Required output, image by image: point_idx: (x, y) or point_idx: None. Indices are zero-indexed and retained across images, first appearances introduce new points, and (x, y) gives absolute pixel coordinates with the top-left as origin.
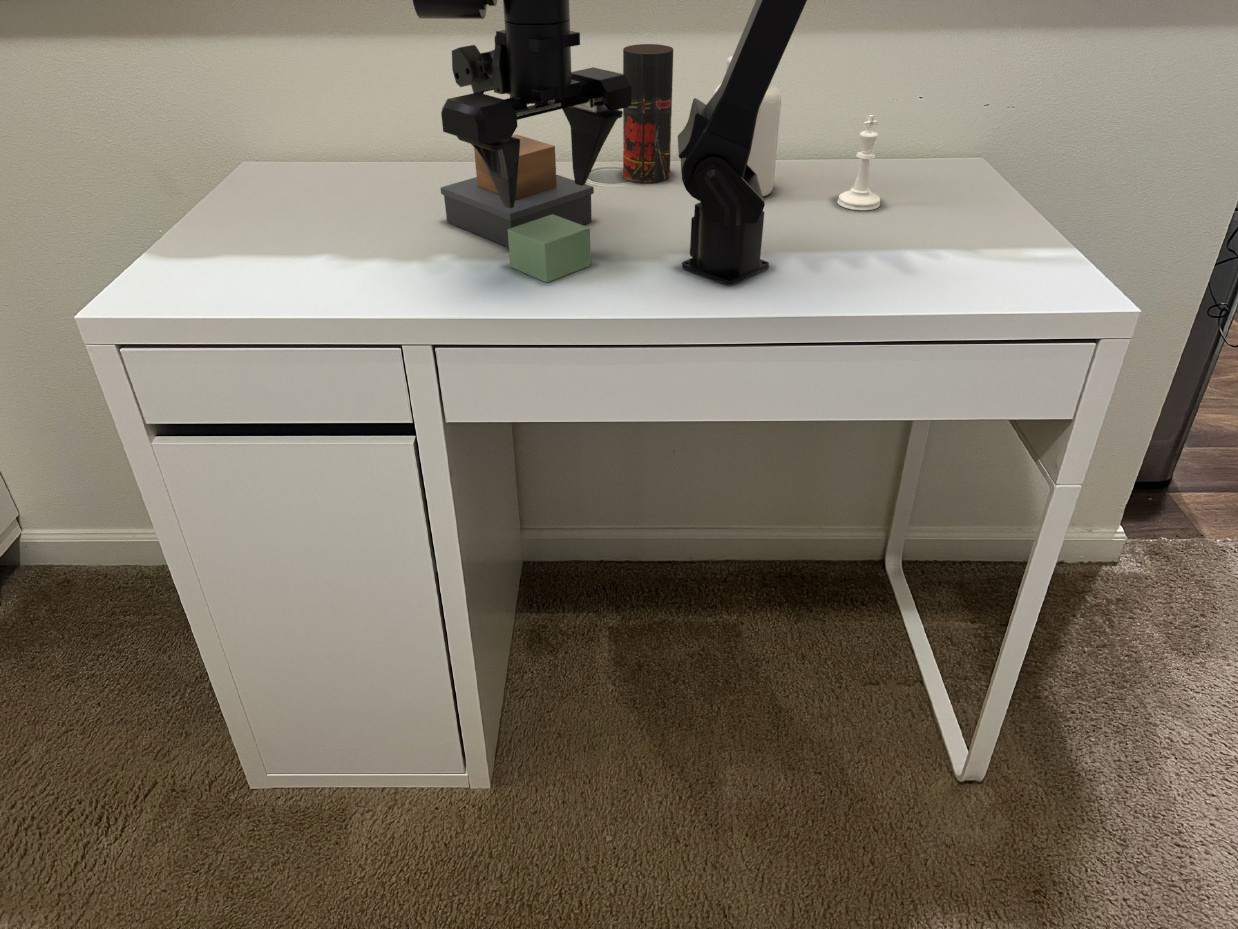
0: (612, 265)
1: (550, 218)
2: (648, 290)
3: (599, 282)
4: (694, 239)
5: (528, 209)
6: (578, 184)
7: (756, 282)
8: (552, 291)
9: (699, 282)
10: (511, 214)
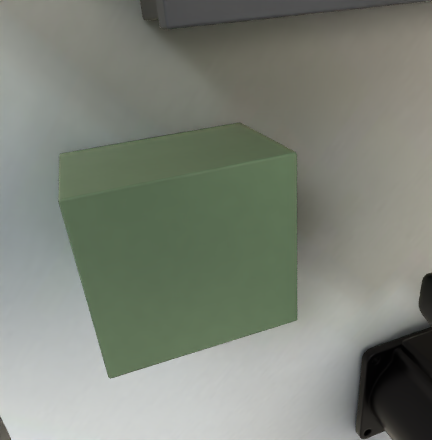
0: None
1: (262, 190)
2: (254, 402)
3: None
4: (424, 386)
5: (273, 16)
6: (421, 293)
7: None
8: (85, 342)
9: (338, 402)
10: (174, 28)
